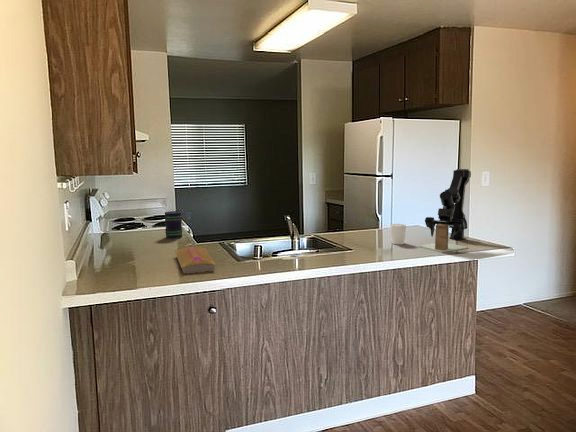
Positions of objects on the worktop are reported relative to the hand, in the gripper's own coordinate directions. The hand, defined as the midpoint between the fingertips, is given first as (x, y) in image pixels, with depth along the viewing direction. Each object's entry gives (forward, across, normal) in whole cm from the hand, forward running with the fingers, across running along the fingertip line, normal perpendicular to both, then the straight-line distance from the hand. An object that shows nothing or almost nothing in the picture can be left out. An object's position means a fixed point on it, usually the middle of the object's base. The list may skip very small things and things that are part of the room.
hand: (441, 237), depth 230 cm
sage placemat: (-1, -1, +10) cm, 10 cm away
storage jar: (+33, -145, -23) cm, 150 cm away
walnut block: (+3, 0, +5) cm, 6 cm away
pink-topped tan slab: (+63, -88, -52) cm, 120 cm away
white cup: (0, -24, +10) cm, 26 cm away
